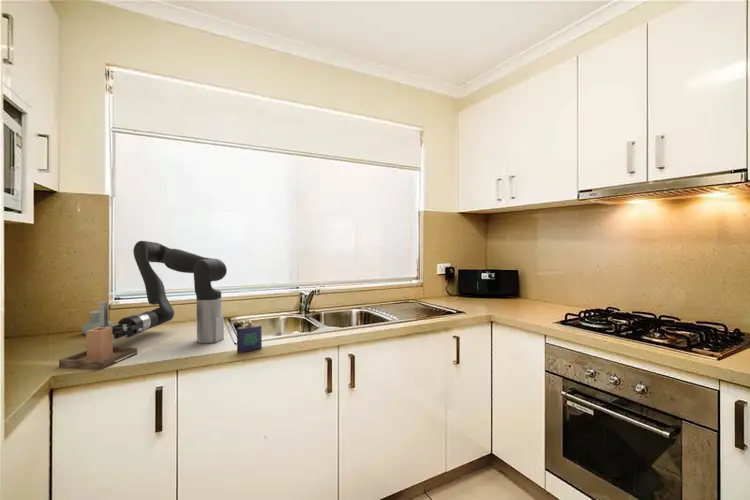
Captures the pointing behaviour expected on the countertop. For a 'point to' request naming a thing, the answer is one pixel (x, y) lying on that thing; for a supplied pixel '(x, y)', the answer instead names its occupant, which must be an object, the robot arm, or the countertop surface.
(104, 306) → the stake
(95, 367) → the tray
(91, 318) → the air freshener
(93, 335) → the collar
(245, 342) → the flask
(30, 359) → the countertop surface
